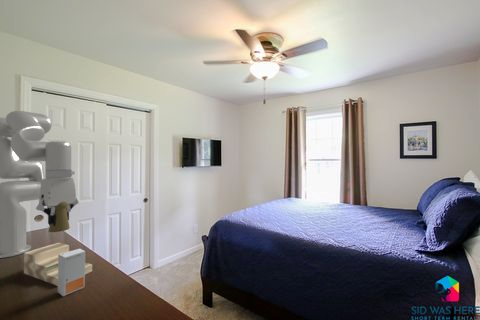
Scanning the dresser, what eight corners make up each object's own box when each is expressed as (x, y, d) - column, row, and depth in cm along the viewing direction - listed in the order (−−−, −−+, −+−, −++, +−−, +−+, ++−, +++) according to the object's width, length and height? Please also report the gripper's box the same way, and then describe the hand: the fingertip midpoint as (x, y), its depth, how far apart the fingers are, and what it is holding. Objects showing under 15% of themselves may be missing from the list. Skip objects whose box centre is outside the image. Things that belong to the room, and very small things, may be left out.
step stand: (24, 273, 82) (24, 252, 82) (58, 260, 92) (58, 242, 92) (58, 286, 73) (58, 263, 73) (92, 271, 84) (92, 251, 84)
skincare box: (63, 297, 68) (63, 257, 68) (57, 292, 70) (57, 254, 70) (85, 287, 73) (85, 250, 73) (79, 283, 75) (79, 248, 75)
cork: (57, 232, 80) (57, 201, 80) (44, 231, 81) (44, 201, 81) (73, 227, 86) (73, 199, 86) (61, 226, 87) (60, 198, 87)
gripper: (75, 173, 92) (75, 218, 92) (25, 176, 77) (25, 229, 77) (87, 173, 89) (87, 219, 89) (37, 176, 74) (37, 232, 74)
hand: (58, 223), depth 83 cm, fingers closed on cork, 3 cm apart
